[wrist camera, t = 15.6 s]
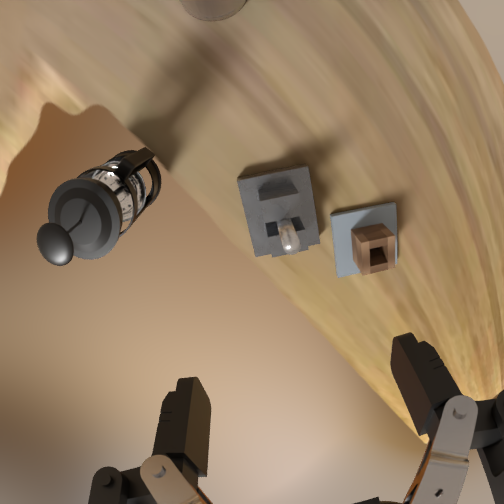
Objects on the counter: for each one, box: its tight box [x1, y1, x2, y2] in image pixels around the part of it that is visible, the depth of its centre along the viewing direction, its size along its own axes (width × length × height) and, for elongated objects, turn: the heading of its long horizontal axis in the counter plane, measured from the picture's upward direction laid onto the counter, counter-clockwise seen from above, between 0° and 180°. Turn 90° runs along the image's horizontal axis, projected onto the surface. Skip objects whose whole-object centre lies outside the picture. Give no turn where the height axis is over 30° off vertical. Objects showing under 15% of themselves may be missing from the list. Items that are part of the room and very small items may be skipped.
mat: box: [330, 202, 397, 278], centre depth 49 cm, size 11×11×1 cm
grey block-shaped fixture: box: [237, 164, 320, 257], centre depth 41 cm, size 12×10×13 cm
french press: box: [37, 147, 161, 266], centre depth 33 cm, size 12×9×23 cm
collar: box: [351, 223, 395, 275], centre depth 46 cm, size 6×6×5 cm
